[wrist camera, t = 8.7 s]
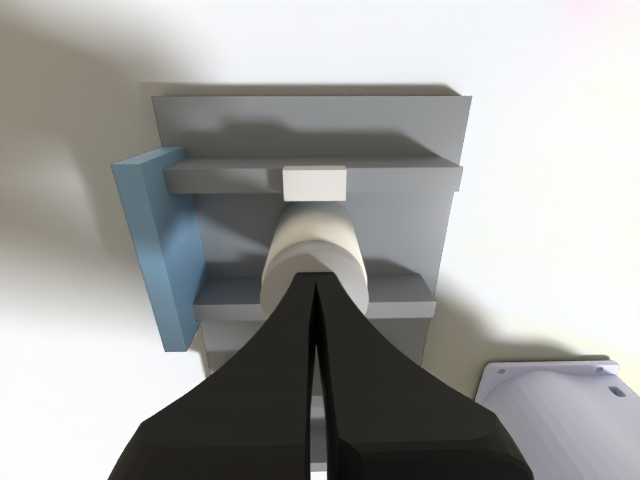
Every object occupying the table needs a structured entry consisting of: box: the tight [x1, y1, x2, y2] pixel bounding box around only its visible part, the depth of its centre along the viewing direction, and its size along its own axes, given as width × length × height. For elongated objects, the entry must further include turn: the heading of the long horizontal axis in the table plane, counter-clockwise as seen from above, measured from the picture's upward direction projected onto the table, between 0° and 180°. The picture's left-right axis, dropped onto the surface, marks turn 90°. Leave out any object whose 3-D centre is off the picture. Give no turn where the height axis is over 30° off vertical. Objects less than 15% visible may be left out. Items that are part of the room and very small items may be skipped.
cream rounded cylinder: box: [260, 201, 369, 319], centre depth 13 cm, size 4×4×6 cm
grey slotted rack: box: [111, 96, 472, 472], centre depth 18 cm, size 14×26×5 cm, turn 0°
